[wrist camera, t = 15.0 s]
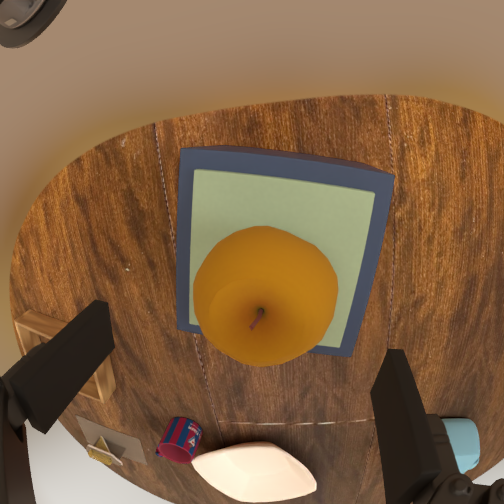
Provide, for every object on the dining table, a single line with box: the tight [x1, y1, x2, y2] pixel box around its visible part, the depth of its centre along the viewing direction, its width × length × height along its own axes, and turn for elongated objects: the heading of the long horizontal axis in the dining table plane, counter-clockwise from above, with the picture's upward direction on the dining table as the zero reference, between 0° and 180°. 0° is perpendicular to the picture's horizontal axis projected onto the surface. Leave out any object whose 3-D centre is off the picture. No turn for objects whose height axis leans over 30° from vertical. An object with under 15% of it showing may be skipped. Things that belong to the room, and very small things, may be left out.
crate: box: [176, 145, 395, 357], centre depth 31 cm, size 16×16×14 cm
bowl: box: [191, 441, 316, 502], centre depth 52 cm, size 22×22×5 cm
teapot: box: [441, 418, 480, 474], centre depth 41 cm, size 12×18×12 cm
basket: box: [14, 309, 116, 404], centre depth 50 cm, size 13×20×5 cm, turn 84°
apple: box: [193, 226, 338, 367], centre depth 20 cm, size 8×8×9 cm
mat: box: [189, 169, 375, 348], centre depth 24 cm, size 13×13×1 cm
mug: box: [156, 417, 203, 464], centre depth 51 cm, size 7×10×7 cm
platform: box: [76, 415, 148, 466], centre depth 59 cm, size 12×18×7 cm, turn 86°
